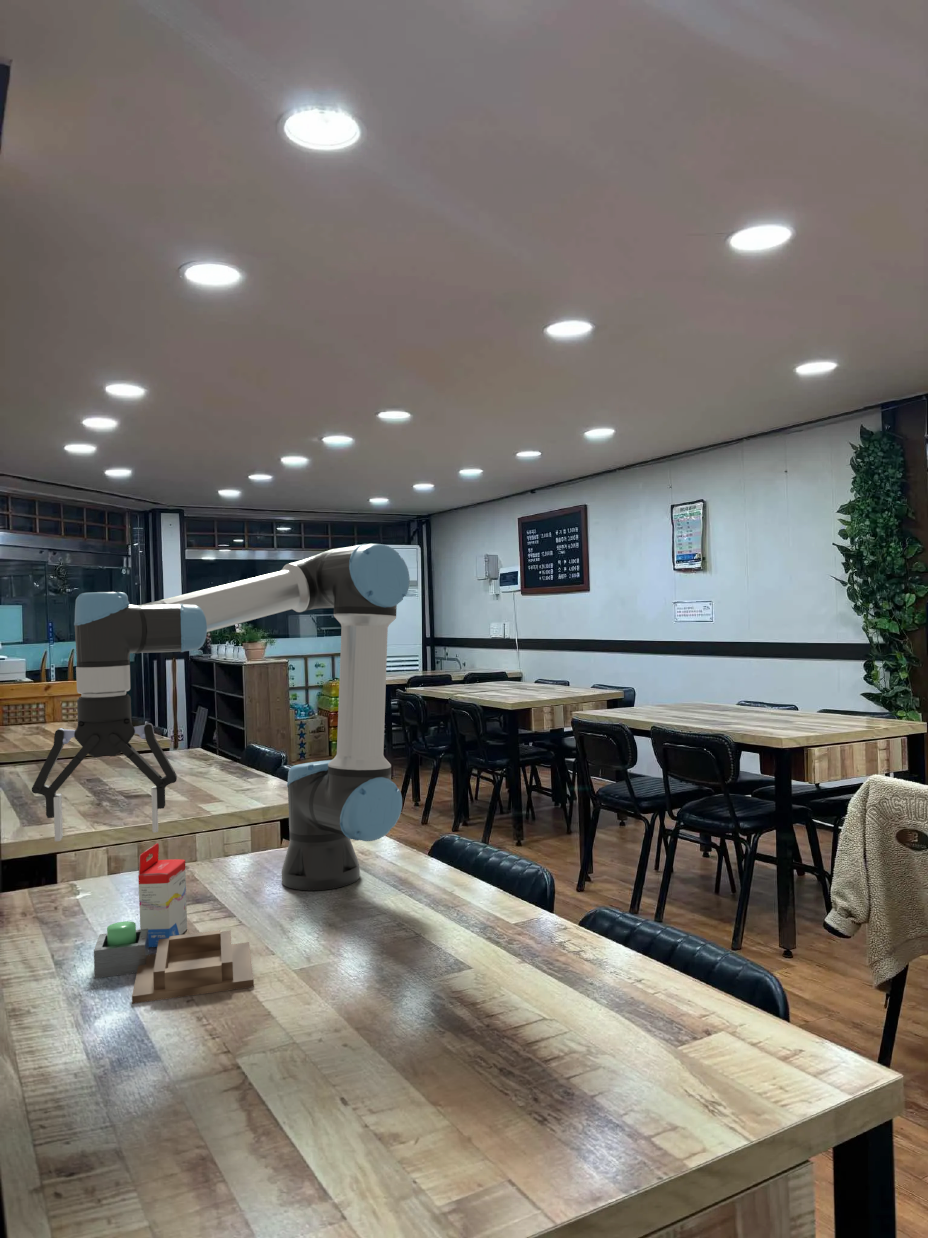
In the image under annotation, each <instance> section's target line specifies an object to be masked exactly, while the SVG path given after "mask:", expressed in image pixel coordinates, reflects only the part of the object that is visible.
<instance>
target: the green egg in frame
mask: <svg viewBox="0 0 928 1238" xmlns="http://www.w3.org/2000/svg"><path fill="white" fill-rule="evenodd" d="M96 941H97V942H96V944H95V946H94V949H93V963H94V964H93V965H94V967H93V968H94V971H93V972H94V979H99V978H100V979H101V978H108V977H115V976H121V975H123V976H124V975H129V974H137V970H138V966H140V965H146V960H147V955H150V949H149V948H150V947H149V938H148V929H140V928H139V929H136V943H134V944H126V945H118V946H110V947H108V941H107V933H100V934H98V938H97V940H96Z"/></svg>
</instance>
